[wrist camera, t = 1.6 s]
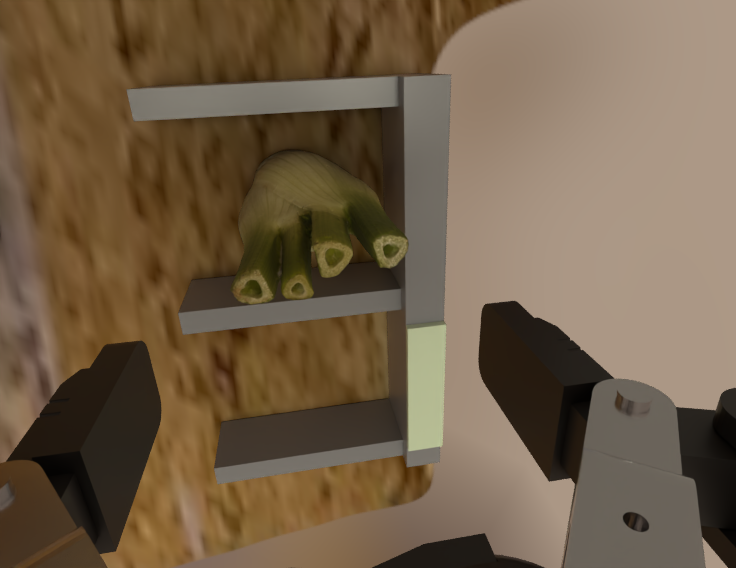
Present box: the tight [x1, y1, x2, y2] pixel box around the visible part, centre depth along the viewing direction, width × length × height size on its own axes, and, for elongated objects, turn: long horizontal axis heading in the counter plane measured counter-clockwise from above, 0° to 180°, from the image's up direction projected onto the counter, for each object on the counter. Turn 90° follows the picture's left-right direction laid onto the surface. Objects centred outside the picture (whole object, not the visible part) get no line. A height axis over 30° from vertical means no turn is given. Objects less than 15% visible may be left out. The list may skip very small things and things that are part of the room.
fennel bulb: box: [230, 150, 409, 305], centre depth 20 cm, size 6×5×12 cm
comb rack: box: [126, 73, 451, 484], centre depth 25 cm, size 21×13×5 cm, turn 3°
